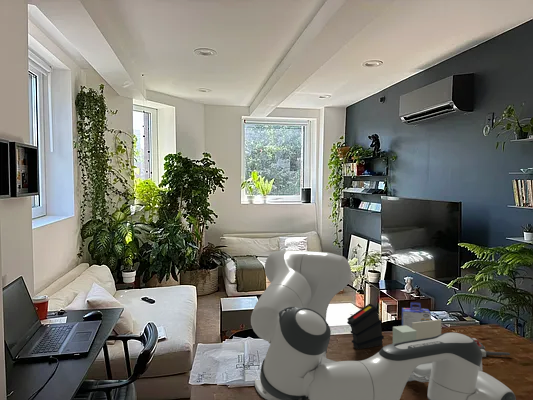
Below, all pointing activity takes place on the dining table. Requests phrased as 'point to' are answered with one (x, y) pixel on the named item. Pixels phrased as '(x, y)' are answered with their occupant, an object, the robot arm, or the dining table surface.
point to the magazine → (366, 328)
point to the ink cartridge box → (415, 315)
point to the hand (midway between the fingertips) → (420, 353)
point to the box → (403, 334)
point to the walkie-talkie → (488, 351)
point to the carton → (427, 329)
